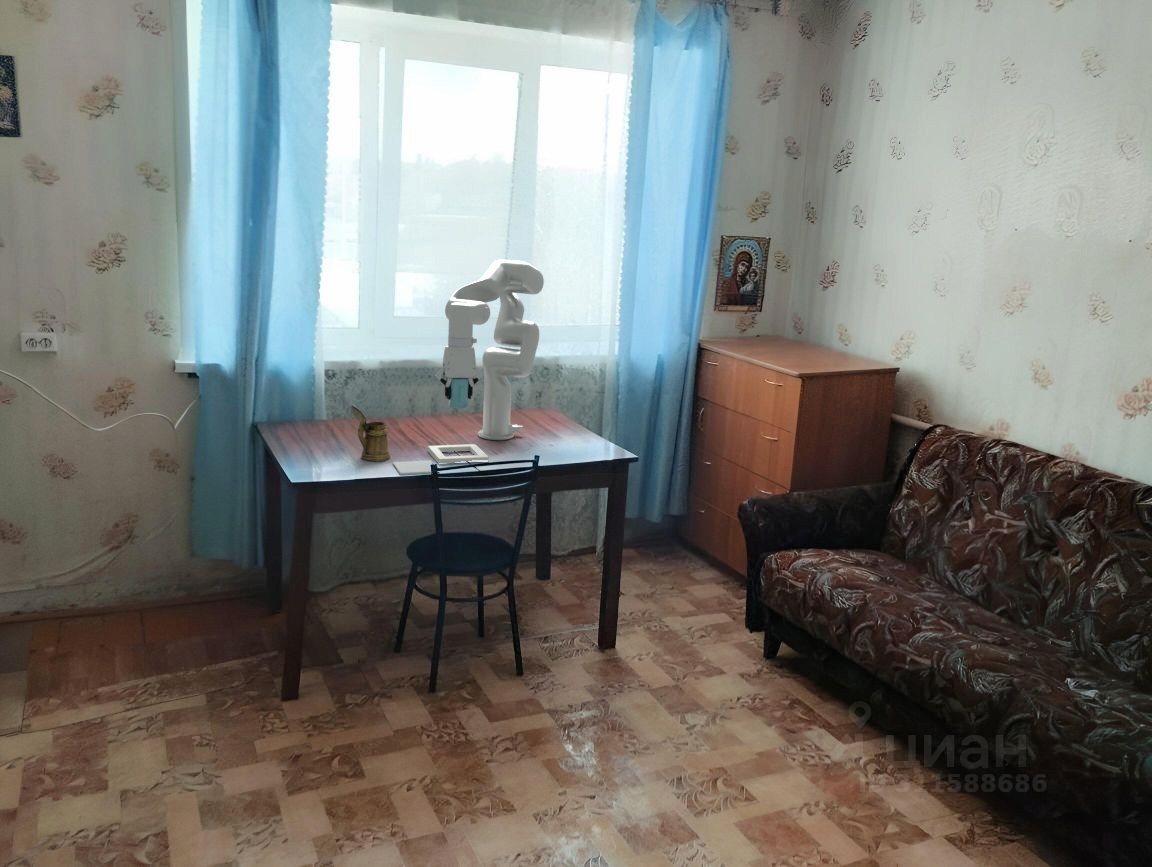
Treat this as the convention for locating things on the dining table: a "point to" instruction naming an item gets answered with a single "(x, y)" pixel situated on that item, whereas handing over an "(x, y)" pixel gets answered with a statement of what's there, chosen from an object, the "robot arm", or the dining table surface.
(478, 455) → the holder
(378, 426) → the wooden mug
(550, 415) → the dining table surface
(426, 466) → the tile
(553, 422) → the dining table surface
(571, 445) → the dining table surface
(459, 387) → the jug
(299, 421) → the dining table surface
